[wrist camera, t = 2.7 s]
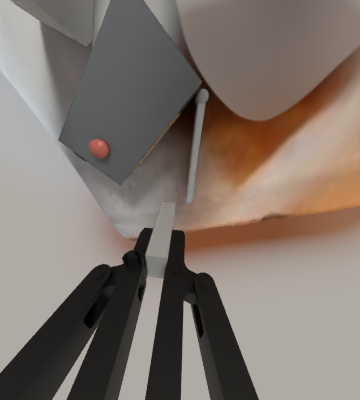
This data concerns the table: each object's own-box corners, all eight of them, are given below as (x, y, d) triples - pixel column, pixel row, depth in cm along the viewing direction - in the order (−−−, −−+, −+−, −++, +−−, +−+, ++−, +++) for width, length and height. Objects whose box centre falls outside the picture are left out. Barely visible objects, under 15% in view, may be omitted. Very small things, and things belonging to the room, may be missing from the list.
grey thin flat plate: (195, 94, 22) (198, 88, 16) (206, 95, 22) (212, 89, 16) (186, 185, 31) (185, 203, 25) (193, 186, 31) (194, 204, 25)
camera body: (148, 27, 18) (115, -43, 10) (198, 92, 22) (204, 81, 14) (91, 139, 27) (47, 151, 19) (133, 172, 30) (112, 195, 22)
